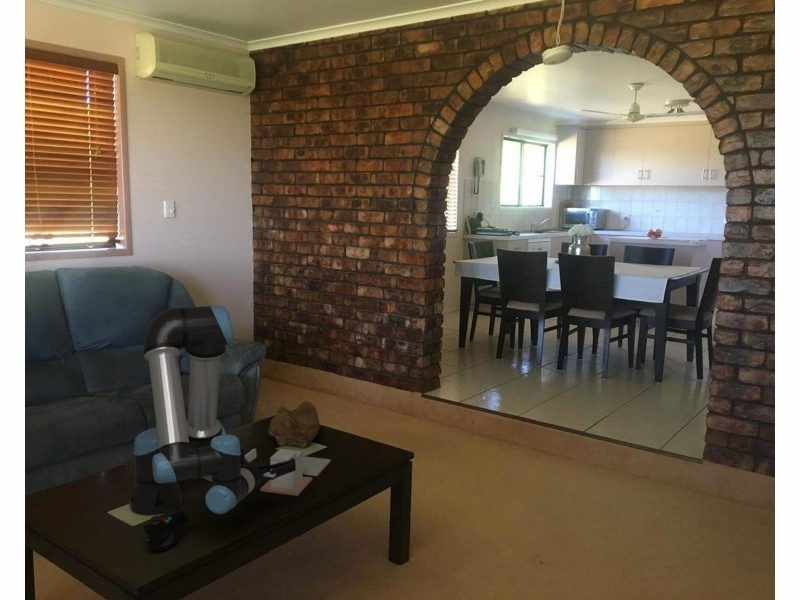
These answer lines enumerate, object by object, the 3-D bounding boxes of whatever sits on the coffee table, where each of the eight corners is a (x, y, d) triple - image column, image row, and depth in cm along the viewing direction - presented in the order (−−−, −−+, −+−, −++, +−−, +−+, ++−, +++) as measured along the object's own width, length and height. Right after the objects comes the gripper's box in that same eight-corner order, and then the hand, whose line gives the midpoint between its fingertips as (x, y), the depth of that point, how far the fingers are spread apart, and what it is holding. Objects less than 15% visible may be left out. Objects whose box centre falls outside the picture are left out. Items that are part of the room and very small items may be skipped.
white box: (293, 489, 212) (293, 460, 211) (270, 486, 214) (270, 457, 213) (302, 479, 220) (302, 451, 218) (280, 476, 222) (280, 448, 220)
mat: (317, 475, 225) (317, 474, 225) (279, 471, 228) (279, 469, 228) (330, 461, 239) (330, 459, 238) (295, 456, 242) (295, 455, 242)
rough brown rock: (294, 458, 242) (297, 420, 240) (261, 445, 251) (265, 408, 249) (333, 443, 262) (336, 407, 259) (302, 431, 270) (305, 396, 268)
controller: (142, 554, 172) (140, 519, 171) (181, 536, 182) (180, 502, 181) (152, 559, 170) (150, 523, 168) (191, 540, 180) (190, 506, 179)
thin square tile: (297, 495, 209) (297, 493, 209) (260, 491, 212) (260, 488, 212) (312, 479, 222) (312, 477, 222) (276, 475, 225) (276, 473, 225)
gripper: (204, 488, 188) (239, 462, 208) (284, 497, 182) (312, 469, 203) (203, 463, 187) (238, 439, 207) (284, 471, 181) (312, 446, 202)
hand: (275, 454), depth 205 cm, fingers open, 13 cm apart
